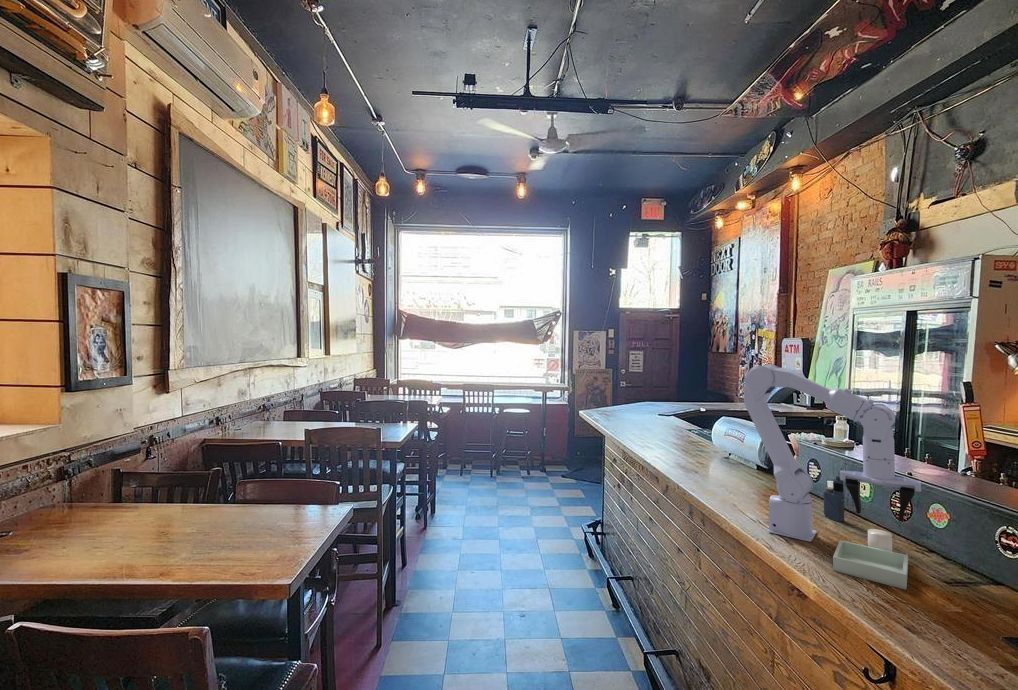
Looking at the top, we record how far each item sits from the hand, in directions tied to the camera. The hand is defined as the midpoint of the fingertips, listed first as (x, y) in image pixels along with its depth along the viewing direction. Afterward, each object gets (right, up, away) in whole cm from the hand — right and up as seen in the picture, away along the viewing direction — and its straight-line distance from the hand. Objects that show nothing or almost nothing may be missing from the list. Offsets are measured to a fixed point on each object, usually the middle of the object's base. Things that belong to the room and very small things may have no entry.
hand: (879, 516), depth 106 cm
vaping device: (+5, -9, +21) cm, 24 cm away
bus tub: (-8, -9, -7) cm, 14 cm away
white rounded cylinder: (0, -9, 0) cm, 9 cm away
